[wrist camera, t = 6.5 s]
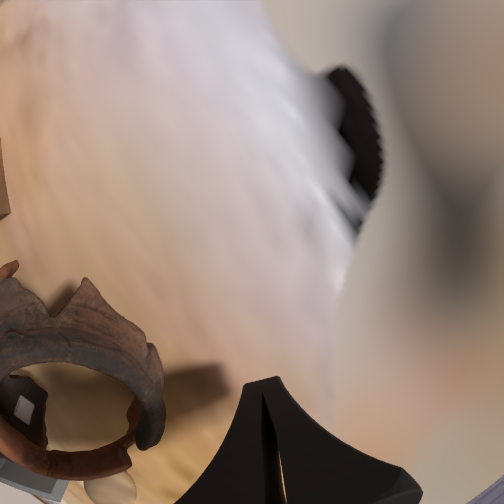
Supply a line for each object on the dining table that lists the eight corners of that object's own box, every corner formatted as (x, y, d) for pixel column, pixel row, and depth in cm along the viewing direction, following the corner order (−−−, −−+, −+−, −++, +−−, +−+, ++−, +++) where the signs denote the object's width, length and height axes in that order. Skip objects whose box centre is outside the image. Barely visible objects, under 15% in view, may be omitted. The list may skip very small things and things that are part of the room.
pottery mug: (30, 197, 11) (-19, 240, 4) (164, 295, 16) (240, 383, 10) (-42, 367, 9) (-60, 474, 2) (77, 425, 15) (109, 524, 8)
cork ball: (150, 482, 14) (142, 521, 11) (109, 480, 14) (98, 515, 11) (124, 453, 13) (111, 495, 10) (82, 451, 13) (66, 488, 10)
